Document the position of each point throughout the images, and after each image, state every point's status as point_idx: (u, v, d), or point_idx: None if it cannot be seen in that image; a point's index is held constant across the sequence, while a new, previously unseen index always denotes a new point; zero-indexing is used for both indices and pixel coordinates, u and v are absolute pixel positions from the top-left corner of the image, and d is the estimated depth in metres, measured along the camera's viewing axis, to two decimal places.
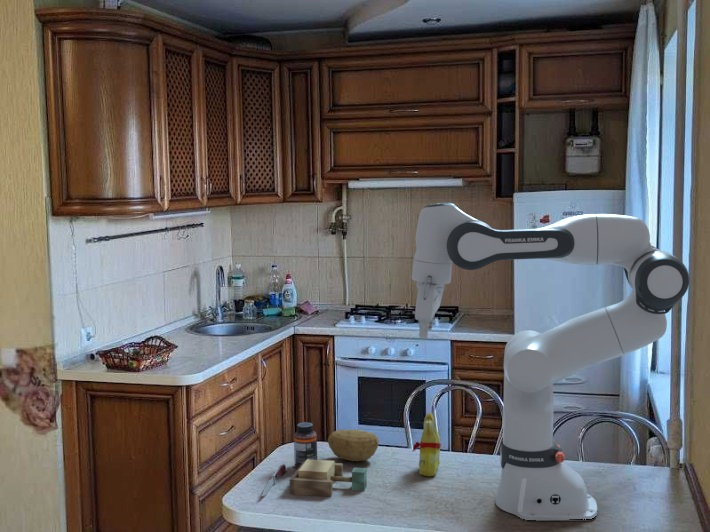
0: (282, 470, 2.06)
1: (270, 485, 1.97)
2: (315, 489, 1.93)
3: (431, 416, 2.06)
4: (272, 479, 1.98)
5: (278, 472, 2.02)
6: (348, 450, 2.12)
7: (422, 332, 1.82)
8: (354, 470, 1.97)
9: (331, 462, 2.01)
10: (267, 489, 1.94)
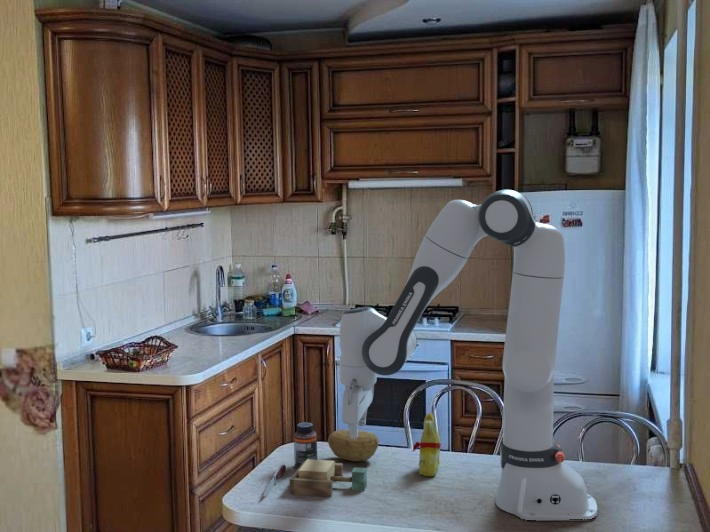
0: (282, 470, 2.06)
1: (271, 485, 1.97)
2: (315, 489, 1.93)
3: (431, 416, 2.06)
4: (273, 479, 1.98)
5: (279, 472, 2.02)
6: (348, 450, 2.12)
7: (352, 433, 1.91)
8: (354, 470, 1.97)
9: (331, 462, 2.01)
10: (268, 489, 1.94)
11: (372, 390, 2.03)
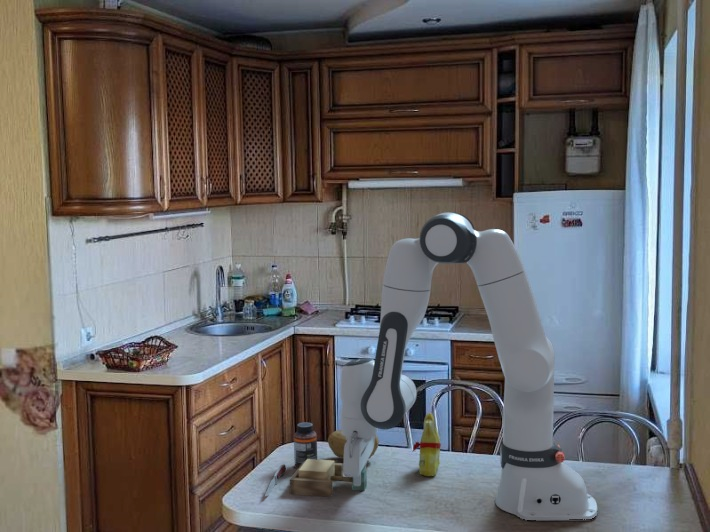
0: (283, 470, 2.06)
1: (272, 485, 1.97)
2: (315, 489, 1.93)
3: (431, 416, 2.06)
4: (274, 479, 1.98)
5: (279, 472, 2.02)
6: None
7: (356, 480, 1.94)
8: None
9: (331, 462, 2.01)
10: (269, 489, 1.94)
11: (373, 439, 2.04)
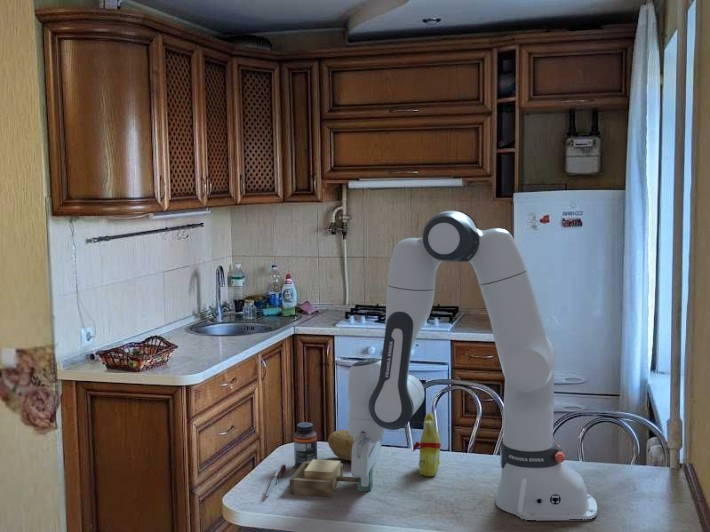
0: (283, 470, 2.06)
1: (272, 485, 1.97)
2: (315, 489, 1.93)
3: (431, 416, 2.06)
4: (274, 479, 1.98)
5: (279, 472, 2.02)
6: (348, 450, 2.12)
7: (363, 481, 1.94)
8: None
9: (337, 462, 2.01)
10: (270, 489, 1.94)
11: (380, 439, 2.04)
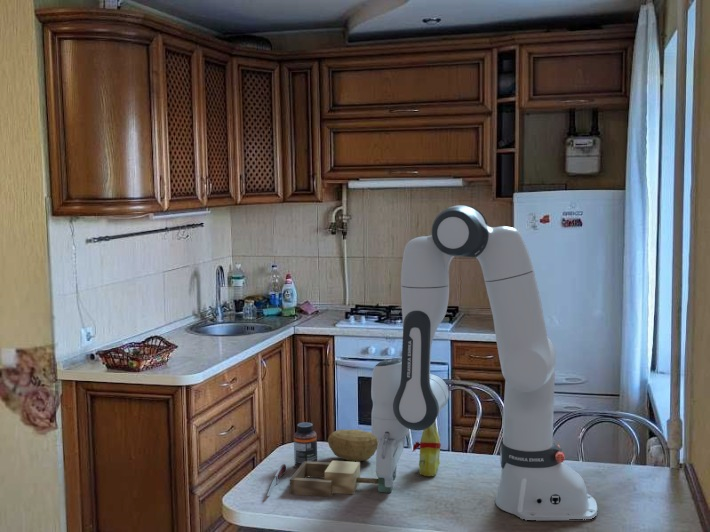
0: (283, 470, 2.06)
1: (273, 485, 1.97)
2: (315, 489, 1.93)
3: None
4: (275, 479, 1.98)
5: (280, 472, 2.02)
6: (348, 450, 2.12)
7: (387, 482, 1.93)
8: None
9: (357, 463, 2.00)
10: (271, 489, 1.94)
11: (403, 439, 2.03)
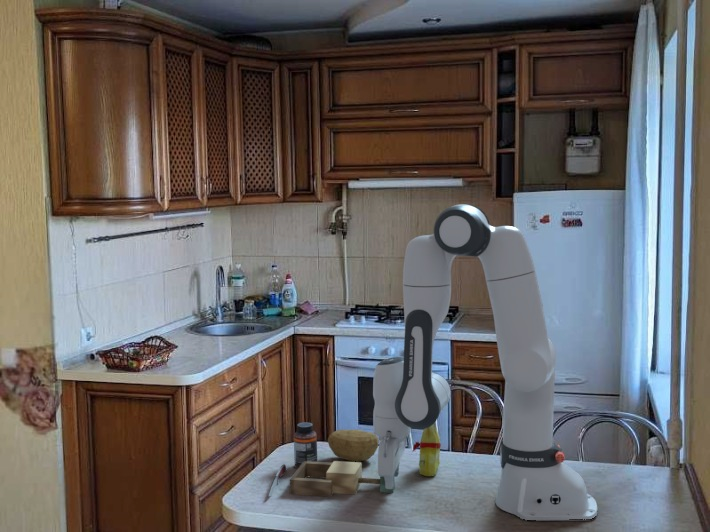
0: (283, 470, 2.06)
1: (274, 485, 1.97)
2: (315, 489, 1.93)
3: None
4: (276, 479, 1.98)
5: (280, 472, 2.02)
6: (348, 450, 2.12)
7: (388, 483, 1.91)
8: None
9: (358, 464, 2.00)
10: (272, 489, 1.94)
11: (405, 438, 2.03)
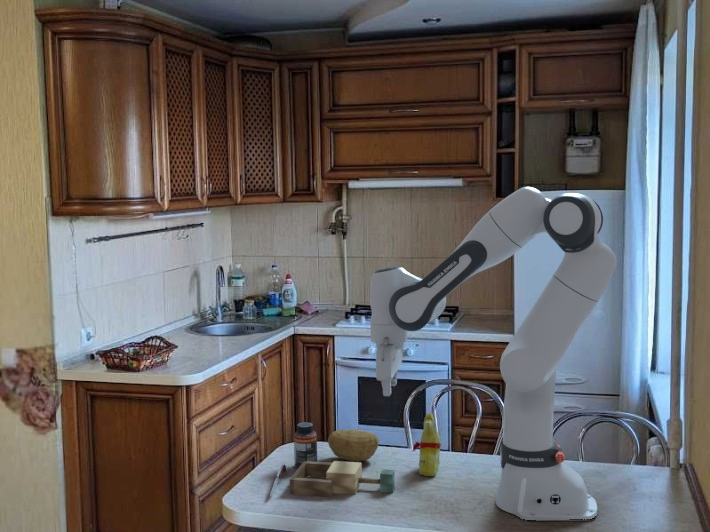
0: (284, 470, 2.06)
1: (275, 485, 1.97)
2: (315, 489, 1.93)
3: (431, 416, 2.06)
4: (276, 479, 1.98)
5: (281, 472, 2.02)
6: (348, 450, 2.12)
7: (385, 390, 1.93)
8: (382, 472, 1.95)
9: (358, 464, 2.00)
10: (273, 489, 1.94)
11: (402, 351, 2.05)
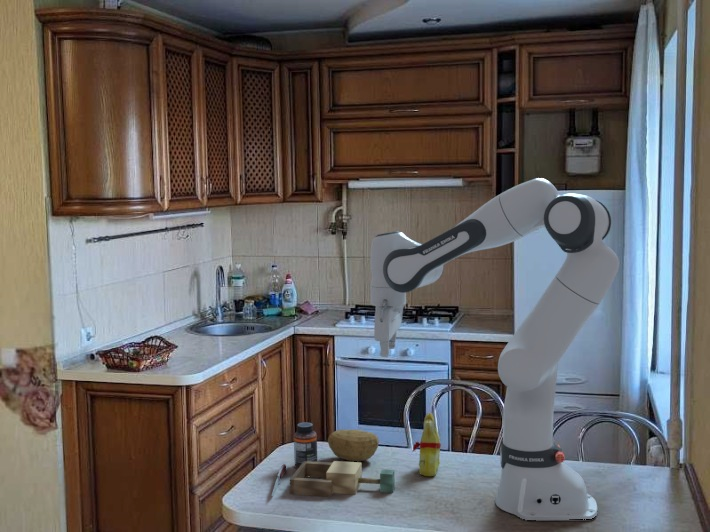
0: (284, 470, 2.06)
1: (276, 485, 1.97)
2: (315, 489, 1.93)
3: (431, 416, 2.06)
4: (277, 479, 1.98)
5: (281, 472, 2.02)
6: (348, 450, 2.12)
7: (384, 351, 1.98)
8: (382, 472, 1.95)
9: (358, 464, 2.00)
10: (274, 489, 1.94)
11: (401, 315, 2.11)
